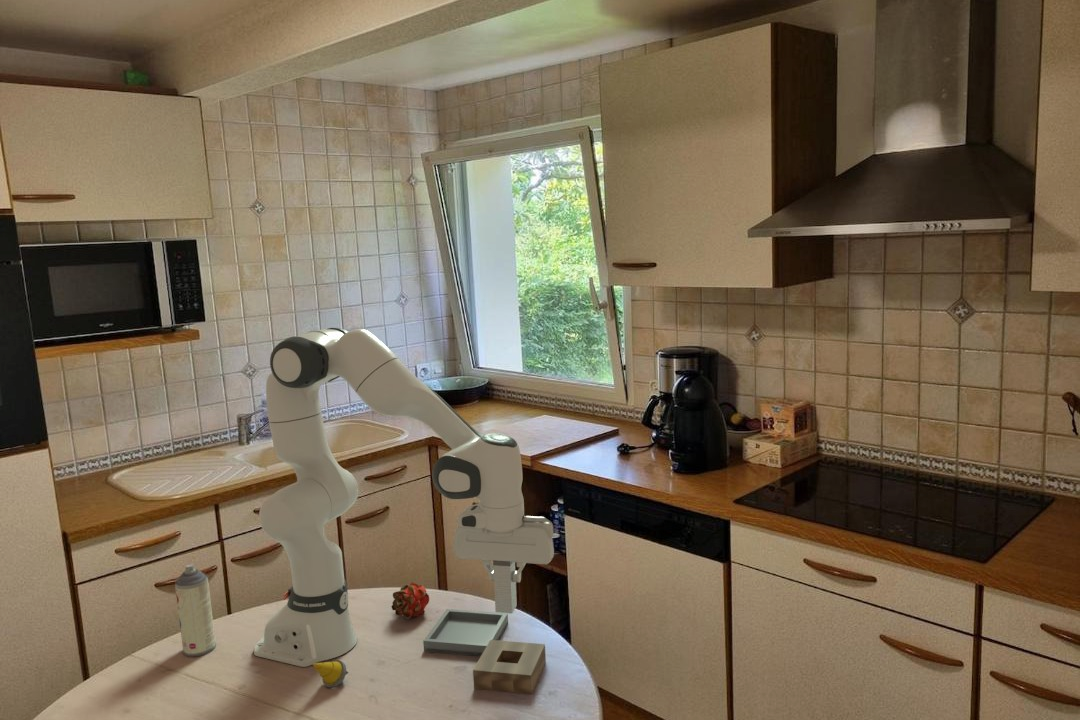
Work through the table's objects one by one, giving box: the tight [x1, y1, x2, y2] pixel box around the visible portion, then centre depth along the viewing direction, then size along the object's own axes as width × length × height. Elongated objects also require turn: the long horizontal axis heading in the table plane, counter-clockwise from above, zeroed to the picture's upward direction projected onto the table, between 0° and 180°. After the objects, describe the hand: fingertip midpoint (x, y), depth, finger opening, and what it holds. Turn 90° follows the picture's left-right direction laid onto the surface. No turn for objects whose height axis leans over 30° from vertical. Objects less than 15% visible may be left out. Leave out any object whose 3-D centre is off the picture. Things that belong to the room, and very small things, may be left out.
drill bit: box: [312, 659, 349, 689], centre depth 162 cm, size 5×5×10 cm
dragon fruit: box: [391, 581, 430, 620], centre depth 191 cm, size 8×8×12 cm
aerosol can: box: [174, 563, 217, 658], centre depth 178 cm, size 7×7×20 cm
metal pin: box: [492, 560, 518, 614], centre depth 160 cm, size 4×4×11 cm
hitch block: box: [472, 640, 547, 695], centre depth 163 cm, size 12×12×4 cm
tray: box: [422, 608, 509, 657], centre depth 180 cm, size 15×15×2 cm
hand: (504, 580), depth 160 cm, fingers closed on metal pin, 3 cm apart
